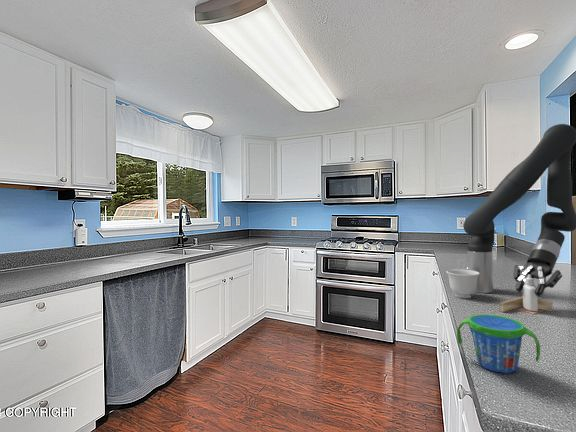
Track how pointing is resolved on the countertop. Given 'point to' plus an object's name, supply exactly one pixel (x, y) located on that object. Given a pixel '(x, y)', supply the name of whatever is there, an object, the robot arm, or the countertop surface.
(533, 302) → the eye dropper bottle
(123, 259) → the countertop surface
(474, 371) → the countertop surface
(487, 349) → the snack cup
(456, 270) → the teacup
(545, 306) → the tan l-shaped piece
